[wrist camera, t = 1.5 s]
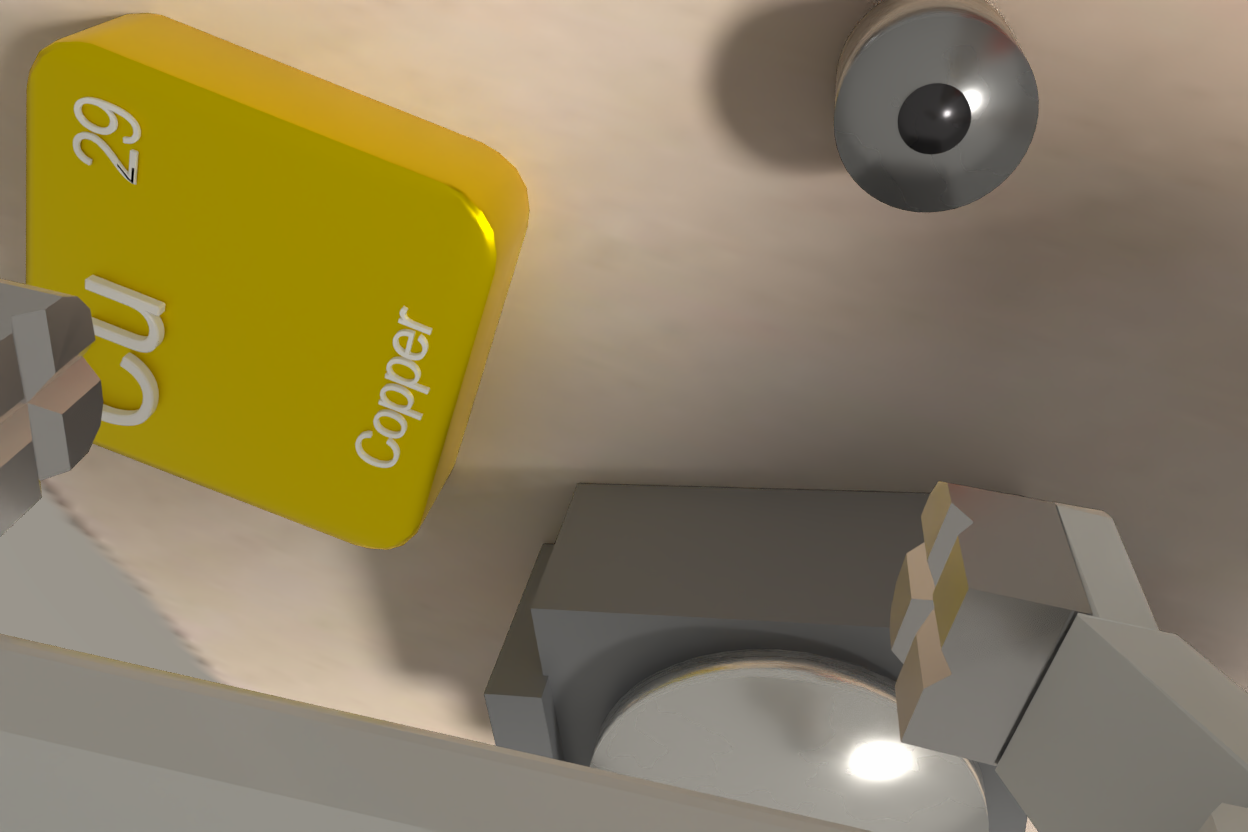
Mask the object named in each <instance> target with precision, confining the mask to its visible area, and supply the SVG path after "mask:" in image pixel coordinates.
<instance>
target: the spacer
mask: <svg viewBox="0 0 1248 832" xmlns="http://www.w3.org/2000/svg"><path fill="white" fill-rule="evenodd" d="M1038 104H1039V100H1038V91H1037V86H1036V82H1035V78H1034V75H1033V72H1032V70H1031V68H1030V65H1029V63H1028V61H1027V60H1026V58H1025V56H1024V54H1023V52H1022V51H1021V49H1020V47H1019V45H1018V43H1017V42H1016V40H1015V38H1014V36H1013V34H1012V33H1011V31H1010V29H1009V27H1008V26H1007V24H1006V22H1005V21H1004V19H1003V18H1002V17H1001V15H1000V14H999V13H998V12H997V11H996V9H994V8H993V7H992V6H991V5H990V4H989V3H988V2H986V1H985V0H884V1H882V2H881V3H880V4H878V5H877V6H875V7H874V8H873V9H871V10H870V11H869V12H868V13H867V14H866V15H865V16H864V17H863V18H862V19H861V20H860V22H859V23H858V24H857V25H856V26H855V28H854V29H853V31H852V32H851V34H850V36H849V37H848V39H847V41H846V43H845V45H844V47H843V50H842V53H841V55H840V58H839V62H838V67H837V73H836V90H835V110H834V134H835V140H836V145H837V149H838V152H839V155H840V158H841V160H842V162H843V164H844V166H845V168H846V170H847V171H848V173H849V174H850V175H851V177H852V178H853V180H854V181H855V182H856V183H857V184H858V185H859V186H860V187H861V188H862V189H863V190H865V191H866V192H867V193H868V194H870V195H871V196H872V197H874V198H876V199H877V200H879V201H881V202H883V203H885V204H887V205H890V206H892V207H895V208H899V209H902V210H907V211H914V212H939V211H946V210H950V209H955V208H958V207H961V206H964V205H967V204H969V203H971V202H974V201H976V200H978V199H980V198H981V197H983V196H985V195H986V194H988V193H990V192H991V191H992V190H994V189H995V188H996V187H998V186H999V185H1000V184H1001V183H1002V182H1003V181H1004V180H1005V179H1006V178H1007V177H1008V176H1009V175H1010V174H1011V173H1012V172H1013V171H1014V170H1015V168H1016V167H1017V166H1018V165H1019V163H1020V162H1021V160H1022V158H1023V157H1024V155H1025V154H1026V152H1027V150H1028V147H1029V145H1030V143H1031V141H1032V138H1033V135H1034V132H1035V129H1036V124H1037V118H1038Z"/></svg>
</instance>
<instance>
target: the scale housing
mask: <svg viewBox="0 0 1248 832" xmlns="http://www.w3.org/2000/svg"><path fill="white" fill-rule="evenodd" d="M929 495H930V493H901V492H865V491H829V490H794V489H758V488H722V487H686V486H651V485H615V484H579V483H578V484H577V487H576V490H575V492H574V495H573V497H572V500H571V503H570V505H569V508H568V511H567V513H566V516H565V519H564V521H563V524H562V527H561V529H560V532H559V534H558V537H557V540H556V542H555V544H543V545H542V548H541V550H540V553H539V555H538V558H537V560H536V563H535V565H534V568H533V570H532V573H531V575H530V578H529V581H528V583H527V586H526V588H525V591H524V593H523V596H522V598H521V601H520V603H519V606H518V609H517V611H516V614H515V616H514V619H513V621H512V624H511V626H510V629H509V631H508V634H507V636H506V639H505V642H504V644H503V647H502V649H501V652H500V654H499V657H498V659H497V662H496V664H495V667H494V670H493V672H492V675H491V677H490V680H489V682H488V685H487V687H486V690H485V692H484V696H485V700H486V705H487V709H488V713H489V718H490V722H491V726H492V731H493V735H494V739H495V744H496V746H499V747H504V748H508V749H512V750H517V751H521V752H526V753H530V754H534V755H539V756H543V757H548V758H552V759H556V760H561V761H565V762H570V763H574V764H578V765H583V766H587V767H590V763H591V760H592V756H593V752H594V748H595V744H596V741H597V738H598V735H599V732H600V729H601V726H602V724H603V723H604V721H605V719H606V717H607V716H608V714H609V712H610V711H611V709H612V708H613V707H614V706H615V705H616V703H617V702H618V701H619V700H620V699H621V697H623V696H624V695H625V694H626V693H627V692H628V691H629V690H631V689H632V688H633V687H634V686H635V685H636V684H638V683H640V682H641V681H643V680H644V679H646V678H648V677H649V676H651V675H652V674H654V673H656V672H658V671H660V670H663V669H665V668H667V667H669V666H671V665H674V664H676V663H679V662H683V661H686V660H689V659H692V658H695V657H699V656H704V655H709V654H714V653H719V652H725V651H737V650H748V649H770V650H787V651H796V652H806V653H811V654H816V655H821V656H826V657H831V658H835V659H838V660H842V661H845V662H848V663H852V664H855V665H858V666H861V667H864V668H866V669H869V670H871V671H874V672H876V673H878V674H881V675H883V676H886V677H888V678H890V679H891V680H893V681H895V682H896V681H897V679H898V676H899V674H900V672H901V669H902V667H903V663H902V662H901V661H900V660H899V659H898V657H897V656H896V655H895V654H894V653H893V652H892V650H891V641H890V613H891V605H892V600H893V596H894V591H895V586H896V581H897V578H898V576H899V573H900V570H901V567H902V564H903V562H904V559H905V556H906V553H908V552H910V551H911V550H913V549H914V548H916V547H917V546H919V545H921V544H922V543H924V535H923V528H922V521H921V515H922V512H923V510H924V507H925V505H926V503H927V500H928V498H929ZM1022 497H1024V496H1022ZM977 763H978V766H979V768H980V771H981V774H982V779H983V784H984V789H985V797H986V805H987V813H988V821H989V832H1025V829H1026V822H1027V815H1026V814H1025V812H1024V811H1023V809H1022V808H1021V807H1020V805H1019V804H1018V802H1017V801H1016V799H1015V798H1014V797H1013V795H1012V794H1011V792H1010V791H1009V790H1008V788H1007V787H1006V785H1005V784H1004V783H1003V781H1002V780H1001V778H1000V777H999V775H998V774H997V773H996V771H995V769H996V767H997V766H993V765H989V764H985V763H981V762H977Z"/></svg>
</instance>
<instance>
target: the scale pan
mask: <svg viewBox="0 0 1248 832" xmlns="http://www.w3.org/2000/svg"><path fill="white" fill-rule="evenodd" d="M895 684H896V682H895V681H893V680H891V679H890V678H888V677H886V676H883V675H881V674H878V673H876V672H874V671H871V670H869V669H866V668H864V667H861V666H858V665H855V664H852V663H848V662H845V661H842V660H838V659H835V658H831V657H826V656H821V655H816V654H811V653H806V652H796V651H787V650H770V649H748V650H737V651H725V652H719V653H714V654H709V655H704V656H699V657H695V658H692V659H689V660H686V661H683V662H679V663H676V664H674V665H671V666H669V667H667V668H665V669H663V670H660V671H658V672H656V673H654V674H652V675H651V676H649V677H648V678H646V679H644V680H643V681H641V682H640V683H638V684H636V685H635V686H634V687H633V688H632V689H631V690H629V691H628V692H627V693H626V694H625V695H624V696H623V697H621V699H620V700H619V701H618V702H617V703H616V705H615V706H614V707H613V708H612V709H611V711H610V712H609V714H608V716H607V717H606V719H605V721H604V723H603V724H602V726H601V729H600V732H599V735H598V738H597V741H596V744H595V748H594V752H593V756H592V760H591V763H590V767H592V768H596V769H600V770H605V771H609V772H614V773H618V774H623V775H627V776H631V777H636V778H640V779H645V780H649V781H653V782H658V783H662V784H667V785H671V786H675V787H680V788H684V789H689V790H693V791H697V792H702V793H706V794H711V795H715V796H719V797H724V798H728V799H733V800H737V801H741V802H746V803H750V804H755V805H759V806H764V807H768V808H772V809H777V810H781V811H786V812H790V813H794V814H799V815H803V816H808V817H812V818H816V819H821V820H825V821H830V822H834V823H838V824H843V825H847V826H852V827H856V828H860V829H865V830H869V831H874V832H989V821H988V813H987V805H986V797H985V789H984V784H983V779H982V774H981V771H980V768H979V766H978V763H977V761H973V760H969V759H965V758H961V757H957V756H953V755H949V754H945V753H941V752H937V751H933V750H929V749H925V748H921V747H917V746H913V745H909V744H905V743H901V741H900V732H899V722H898V713H897V703H896V694H895Z"/></svg>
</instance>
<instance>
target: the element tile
mask: <svg viewBox="0 0 1248 832" xmlns="http://www.w3.org/2000/svg"><path fill="white" fill-rule="evenodd" d="M529 211H530V210H529V202H528V194H527V188H526V186H525V184H524V182H523V180H522V178H521V176H520V175H519V173H518V171H517V169H516V168H515V167H514V166H513V165H512V164H511V163H510V162H509V161H507V160H506V159H505V158H504V157H503V156H502V155H501V154H500V153H499V152H497V151H495V150H494V149H492V148H490V147H489V146H487V145H485V144H483V143H481V142H479V141H476V140H474V139H471V138H469V137H466V136H464V135H461V134H459V133H456V132H454V131H451V130H449V129H446V128H444V127H441V126H439V125H436V124H434V123H431V122H429V121H426V120H424V119H421V118H419V117H416V116H414V115H411V114H409V113H406V112H404V111H401V110H399V109H396V108H394V107H391V106H389V105H386V104H384V103H381V102H379V101H376V100H374V99H371V98H368V97H366V96H363V95H361V94H358V93H356V92H353V91H351V90H348V89H346V88H343V87H341V86H338V85H336V84H333V83H331V82H328V81H326V80H323V79H321V78H318V77H316V76H313V75H311V74H308V73H306V72H303V71H301V70H298V69H296V68H293V67H291V66H288V65H286V64H283V63H281V62H278V61H276V60H273V59H271V58H268V57H266V56H263V55H261V54H258V53H256V52H253V51H251V50H248V49H245V48H243V47H240V46H238V45H235V44H233V43H230V42H228V41H225V40H223V39H220V38H218V37H215V36H213V35H210V34H208V33H205V32H203V31H200V30H198V29H195V28H193V27H190V26H188V25H185V24H183V23H180V22H178V21H175V20H173V19H170V18H168V17H165V16H163V15H157V14H151V13H141V14H126V15H123V16H121V17H118V18H115V19H113V20H110V21H107V22H104V23H102V24H99V25H96V26H94V27H91V28H88V29H85V30H83V31H80V32H77V33H75V34H72V35H69V36H66V37H64V38H61V39H58V40H56V41H55V42H53V43H52V44H50V45H48V46H47V47H45V48H43V49H42V50H41V51H40V52H39V54H38V55H37V57H36V59H35V61H34V63H33V65H32V67H31V69H30V72H29V77H28V83H27V99H26V284H27V285H31V286H35V287H39V288H44V289H48V290H52V291H57V292H61V293H65V294H69V295H74V296H78V297H79V298H80V299H81V300H82V301H83V302H84V303H85V304H86V305H87V306H88V307H89V308H90V311H91V317H92V323H93V328H94V334H95V341H94V343H93V344H92V345H91V346H90V348H89V349H88V350H87V352H86V353H85V354H84V356H83V357H84V359H85V360H86V361H87V363H88V364H89V365H90V367H91V368H92V369H93V370H94V372H95V373H96V374H97V376H98V377H99V378H100V380H101V386H102V395H103V409H102V417H101V426H100V428H99V430H98V432H97V434H96V436H95V439H94V441H93V444H95V445H98V446H100V447H103V448H105V449H108V450H111V451H113V452H116V453H118V454H121V455H124V456H126V457H129V458H131V459H134V460H137V461H139V462H142V463H144V464H147V465H149V466H152V467H155V468H157V469H160V470H162V471H165V472H168V473H170V474H173V475H175V476H178V477H180V478H183V479H186V480H188V481H191V482H193V483H196V484H199V485H201V486H204V487H206V488H209V489H212V490H214V491H217V492H219V493H222V494H224V495H227V496H230V497H232V498H235V499H237V500H240V501H243V502H245V503H248V504H250V505H253V506H255V507H258V508H261V509H263V510H266V511H268V512H271V513H274V514H276V515H279V516H281V517H284V518H287V519H289V520H292V521H294V522H297V523H299V524H302V525H305V526H307V527H310V528H312V529H315V530H318V531H320V532H323V533H325V534H328V535H330V536H333V537H336V538H338V539H341V540H343V541H346V542H349V543H351V544H354V545H358V546H361V547H365V548H370V549H386V550H389V549H392V548H395V547H399V546H402V545H404V544H405V543H406V542H407V541H409V540H410V539H411V538H412V537H413V536H414V535H415V534H416V533H417V532H418V530H419V528H420V526H421V525H422V523H423V521H424V519H425V518H426V516H427V514H428V512H429V510H430V509H431V507H432V505H433V503H434V501H435V500H436V498H437V496H438V494H439V492H440V491H441V489H442V487H443V485H444V484H445V482H446V480H447V478H448V476H449V474H450V473H451V471H452V469H453V467H454V465H455V461H456V458H457V455H458V452H459V448H460V445H461V442H462V439H463V435H464V432H465V429H466V426H467V422H468V419H469V416H470V413H471V409H472V406H473V403H474V400H475V396H476V393H477V390H478V387H479V383H480V380H481V377H482V374H483V370H484V367H485V364H486V361H487V357H488V354H489V351H490V348H491V344H492V341H493V338H494V335H495V331H496V328H497V325H498V321H499V318H500V315H501V312H502V308H503V305H504V302H505V299H506V295H507V292H508V289H509V286H510V282H511V279H512V276H513V273H514V269H515V266H516V263H517V260H518V256H519V253H520V250H521V247H522V243H523V240H524V237H525V234H526V230H527V227H528V219H529Z"/></svg>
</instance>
